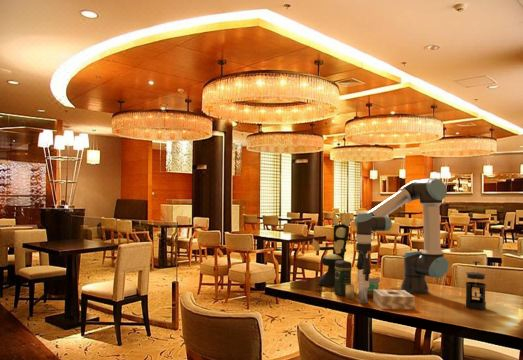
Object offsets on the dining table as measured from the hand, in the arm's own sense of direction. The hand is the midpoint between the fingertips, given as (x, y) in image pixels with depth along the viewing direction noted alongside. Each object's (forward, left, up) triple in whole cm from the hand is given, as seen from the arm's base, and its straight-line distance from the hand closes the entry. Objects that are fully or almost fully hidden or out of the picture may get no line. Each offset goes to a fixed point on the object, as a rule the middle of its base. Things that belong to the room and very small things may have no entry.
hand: (363, 284), depth 233 cm
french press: (-54, +7, -9) cm, 55 cm away
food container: (-8, -15, -9) cm, 19 cm away
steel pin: (0, 0, -9) cm, 9 cm away
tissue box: (-14, +5, -9) cm, 17 cm away
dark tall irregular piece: (+7, -46, -9) cm, 47 cm away
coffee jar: (+7, -18, -9) cm, 21 cm away
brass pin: (+5, -9, -9) cm, 14 cm away
